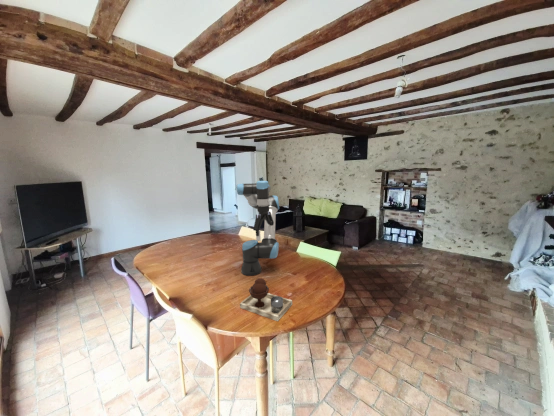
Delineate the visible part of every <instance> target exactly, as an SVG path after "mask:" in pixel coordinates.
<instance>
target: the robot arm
mask: <svg viewBox="0 0 554 416" xmlns="http://www.w3.org/2000/svg"><path fill="white" fill-rule="evenodd" d="M270 191H271V185H270V184H269V181H268V180H258V181H256V183H238V184H237V186H236V194H237V195H238V196H243V197H244V198H245V199H246V200H247V203H248V205H249V206H251V207H252V208H253V209H256V210H257V214H255V218H254V219H255V220H254V223H253V224H254V225H253V228H252V230H253V231H255V239H250V240H247V241H244V242H243V243H242V246H241V247H242V249H241V250H242V266H241V271H240V273H241V274H242V275H244V276H250V277H251V276H256V275H259V274H260V273H262V266H261V264H260V260H259V259H261V260H262V259H268V260H269V259H270V260H271V259H277V257H278V254H279V249H280V248H279V246H280V245H279V242H278V240H277V239H276V213H277V212H278V210H280V203H279V197H278V196H277V195H269V194H270ZM263 222H264V227H263V238H262V237H261V230H260V229H261V226H262V224H263ZM261 238H262V239H261Z"/></svg>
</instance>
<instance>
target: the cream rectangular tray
mask: <svg viewBox="0 0 554 416" xmlns="http://www.w3.org/2000/svg"><path fill="white" fill-rule="evenodd" d="M274 296H277V295H276V294H272V293H270V292H268V294H267V295H266V297H264V298H262V299H261V301H262V302H264V304H265V305H264V306H263V307H261V308H257V307H255V303H256V302H258V299H255V298H253V297H252V296H251V294H250V295H249V296H247V297H246V298H245V299H243V300H242V301H241V302H240V303H239V308H240V309H242V310H245V311H247V312H251V313H253V314H256V315H258V316H262V317H264V318H266V319H269V320H273V321H275V322H279V321H280V319H282V317H284V315H285V314H286V312H288V311H289V309H290V308H291V307H292V305H293V300H292V299H290V298H289V299H288V298H285V297H282V296H281V297H282V298H283V309H282V310H281V311H280V312H279V313H273V312H272V311H271V298H272V297H274Z"/></svg>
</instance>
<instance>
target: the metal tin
mask: <svg viewBox="0 0 554 416" xmlns="http://www.w3.org/2000/svg"><path fill="white" fill-rule="evenodd" d="M283 298H284V297H283ZM283 298H282V296H279V295H276V296H274V297H272V298H271V311H272V312H273V313H279V312H280V311H281V310H282V309H283Z"/></svg>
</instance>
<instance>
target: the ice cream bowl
mask: <svg viewBox="0 0 554 416" xmlns="http://www.w3.org/2000/svg"><path fill="white" fill-rule="evenodd" d="M269 291H270V287H269V286H268V285H267V281H266V280H265V279H264V278H261V277H258V278H257V279H256V280H255V281H254V283H253V285H252V286H250V288H248V292H249V294H250V295H251V296H252V297H253V298H255V299H258V302H256V303H255V307H257V308H261V307H263V306H264V305H265V304H264V302H262V301H261V299H262V298H264V297H266V295H267V294H268V293H269Z"/></svg>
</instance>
